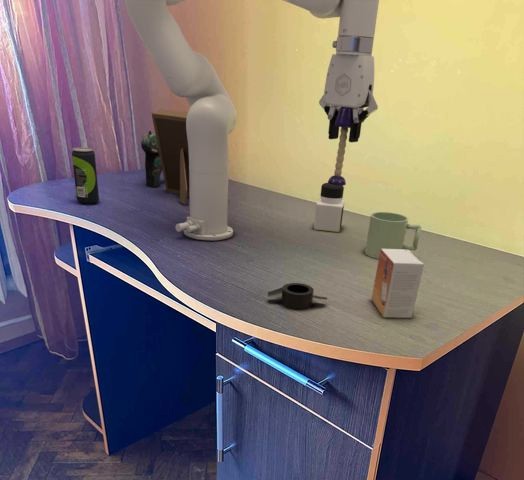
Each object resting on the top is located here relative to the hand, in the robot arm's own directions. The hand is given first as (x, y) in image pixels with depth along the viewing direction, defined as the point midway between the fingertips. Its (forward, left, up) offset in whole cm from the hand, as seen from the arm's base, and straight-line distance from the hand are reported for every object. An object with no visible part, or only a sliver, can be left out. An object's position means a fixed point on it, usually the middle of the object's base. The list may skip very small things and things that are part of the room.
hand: (343, 139), depth 117 cm
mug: (+6, -14, -25) cm, 29 cm away
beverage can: (-21, +72, -25) cm, 79 cm away
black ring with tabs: (-35, -15, -25) cm, 46 cm away
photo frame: (+6, +59, -25) cm, 64 cm away
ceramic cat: (+16, +80, -25) cm, 85 cm away
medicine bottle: (+14, +10, -25) cm, 30 cm away
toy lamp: (0, 0, -10) cm, 10 cm away
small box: (-24, -29, -25) cm, 46 cm away
